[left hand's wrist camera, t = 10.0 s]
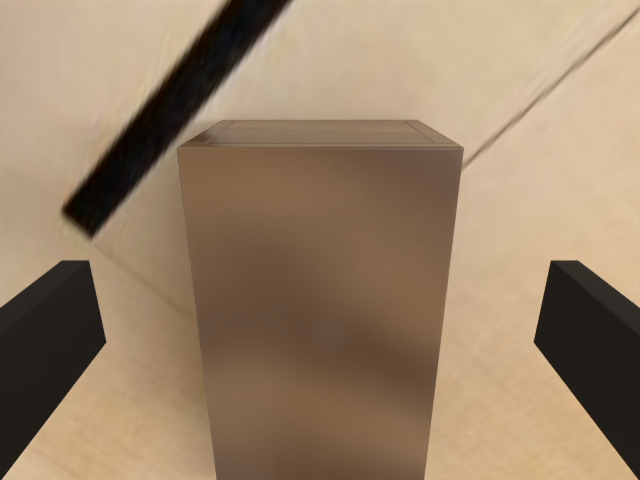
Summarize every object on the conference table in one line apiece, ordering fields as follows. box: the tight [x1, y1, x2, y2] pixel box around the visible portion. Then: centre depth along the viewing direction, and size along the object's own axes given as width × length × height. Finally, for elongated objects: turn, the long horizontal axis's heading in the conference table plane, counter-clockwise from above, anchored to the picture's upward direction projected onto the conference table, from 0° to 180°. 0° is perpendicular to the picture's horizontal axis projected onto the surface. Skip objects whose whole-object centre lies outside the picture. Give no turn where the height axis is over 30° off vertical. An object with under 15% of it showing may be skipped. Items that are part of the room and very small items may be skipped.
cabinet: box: [177, 120, 464, 480], centre depth 25 cm, size 19×11×9 cm, turn 0°
